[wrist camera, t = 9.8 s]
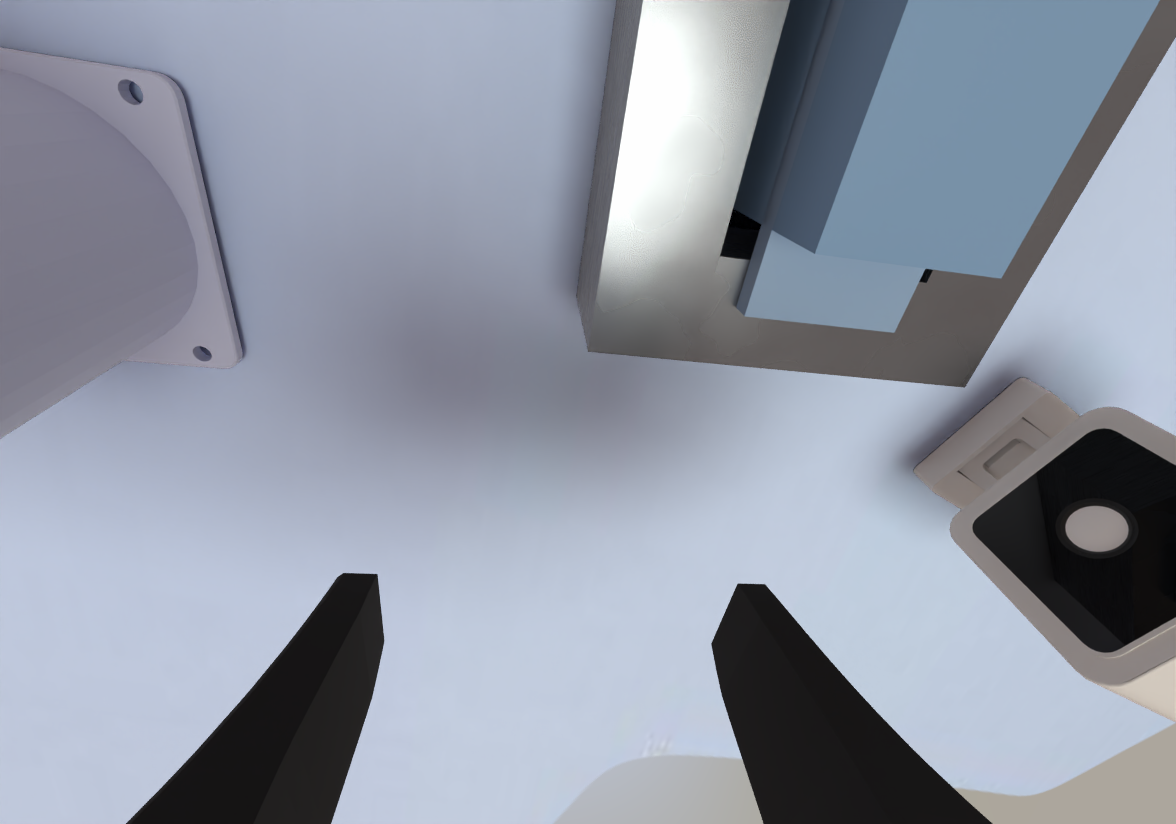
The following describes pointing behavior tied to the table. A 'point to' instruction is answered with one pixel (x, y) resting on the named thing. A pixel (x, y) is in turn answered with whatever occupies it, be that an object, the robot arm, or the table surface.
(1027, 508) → the security camera
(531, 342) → the table surface
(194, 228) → the robot arm
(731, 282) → the frame
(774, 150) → the block
